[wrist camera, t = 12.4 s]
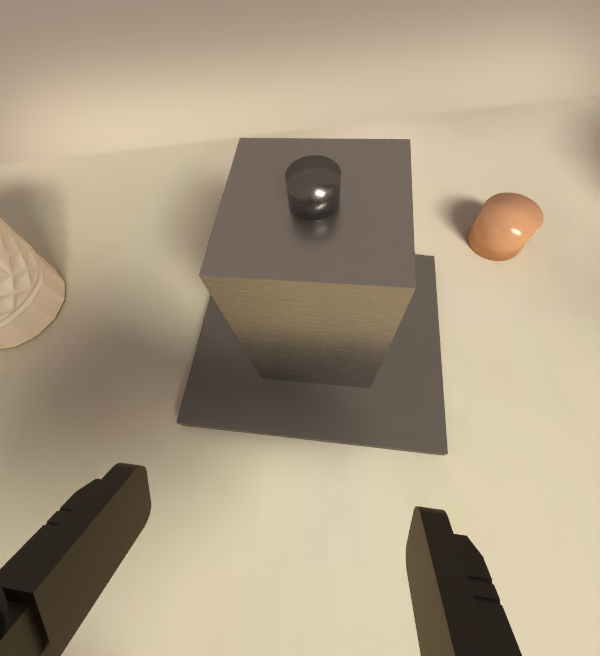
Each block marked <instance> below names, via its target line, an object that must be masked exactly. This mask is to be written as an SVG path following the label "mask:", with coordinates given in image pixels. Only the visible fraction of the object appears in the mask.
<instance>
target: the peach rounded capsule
mask: <svg viewBox="0 0 600 656" xmlns="http://www.w3.org/2000/svg"><path fill="white" fill-rule="evenodd" d="M542 222H543V213H542V210H541V208H540V207H539V206H538V205H537V204H536V203H535V202H534V201H533V200H531V199H529V198H528V197H525V196H523V195H520V194H516V193H500V194H496V195H494V196H492V197H490V198H489V199H488V200H487V201H486V202H485V204H484V206H483V208H482V209H481V211H480V213H479V215H478V216H477V218H476V220H475V222H474V224H473V225H472V227H471V229H470V231H469V233H468V243H469V245H470V247H471V248H472V249H473V250H474V251H475V252H476V253H477V254H478V255H480V256H482V257H484V258H486V259H489V260H494V261H504V260H508V259H511V258H513V257H514V256H516V255H517V254H518V253H519V252H520V250H521V249H522V248H523V247H524V245H525V244H526V243H527V242H528V241H529V239H530V238H531V237H532V236H533V235H534V233H535V232H536V231H537V230H538V229H539V227H540V226H541V225H542Z"/></svg>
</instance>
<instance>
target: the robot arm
mask: <svg viewBox="0 0 600 656" xmlns="http://www.w3.org/2000/svg"><path fill="white" fill-rule="evenodd" d="M150 510H151V499H150V492H149V485H148V478H147V471H146V468H145V467H144V466H139V465H132V464H125V463H118V464H116V465H115V466H113V467H112V468H111V470H110V471H109V472H108V473H107V474H106V475H105V476H104V477H103V478H102V479H95V480H93V481H92V482H90V483H89V484H87V485H86V486H84V487H83V488H81V489H79V490H78V491H76V492H75V493H74V494H73V495H72V496H71V497H70V499H69V500H68V501H67V502H66V503H65V504H64V505H63V506H62V507H61V508H60V511H57V512H56V513H55V514H54V515H53V516H52V517H51V518H50V519H49V520H48V521H47V524H46V525H43V526H42V527H41V528H40V529H39V530H38V531H37V532H36V533H35V534H34V535H33V536H32V537H31V538H30V539H29V540H28V541H27V542H26V544H25V545H24V546H23V547H22V548H21V549H20V550H19V551H18V552H17V553H16V554H15V555H14V556H13V557H12V558H11V559H10V560H9V561H8V562H7V563H6V564H5V565H4V566H3V567H2V568H1V569H0V656H61V654H62V653H63V651H64V650H65V648H66V647H67V645H68V643H69V642H70V640H71V639H72V637H73V636H74V634H75V633H76V631H77V630H78V628H79V627H80V625H81V623H82V622H83V620H84V619H85V617H86V616H87V614H88V613H89V611H90V610H91V608H92V607H93V605H94V603H95V602H96V600H97V599H98V597H99V596H100V594H101V593H102V591H103V590H104V588H105V587H106V585H107V583H108V582H109V580H110V579H111V577H112V576H113V574H114V573H115V571H116V570H117V568H118V567H119V565H120V563H121V562H122V560H123V559H124V557H125V556H126V554H127V553H128V551H129V550H130V548H131V547H132V545H133V543H134V542H135V540H136V539H137V537H138V536H139V534H140V533H141V531H142V530H143V528H144V526H145V525H146V523H147V520H148V518H149V515H150ZM406 568H407V575H408V581H409V587H410V593H411V599H412V605H413V611H414V617H415V623H416V629H417V635H418V641H419V647H420V653H421V656H522V654H521V652H520V649H519V647H518V644H517V642H516V639H515V637H514V634H513V632H512V629H511V627H510V624H509V621H508V619H507V616H506V614H505V611H504V609H503V606H502V605H501V604H500V599H499V596H498V594H497V591H496V589H495V586H494V585H493V584H492V579H491V576H490V574H489V571H488V568H487V566H486V563H485V561H484V558H483V556H482V555H481V554H480V552H479V551H478V550H477V548H476V547H475V546H474V545H473V543H472V542H471V541H470V539H469V538H468V537H467V536H465V535H458V534H453V531H452V528H451V525H450V522H449V519H448V516H447V514H446V512H445V511H444V510H439V509H432V508H425V507H418V506H416V507H415V508H414V512H413V516H412V521H411V526H410V530H409V535H408V540H407V545H406Z"/></svg>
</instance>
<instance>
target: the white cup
mask: <svg viewBox="0 0 600 656" xmlns="http://www.w3.org/2000/svg"><path fill="white" fill-rule="evenodd" d="M64 300H65V282H64V281H63V279H62V278H61V276H60V275H59V274H58V272H57V271H56V270H55V269H54V268H53V267H52V266H51V265H50V264H49V263H48V262H46V261H45V260H44V259H43V258H42V257H41V256H39V255H38V254H37V253H36V252H35V251H34V249H33V248H32V247H31V246H30V245H29V244H28V243H27V242H26V241H25V240H24V239H23V238H22V237H20V236H19V235H18V234H17V233H16V232H15V231H14V230H13V229H12V228H11V227H10V226H9V225H8V224H7V223H6V222H4V221H3V220H2V219H1V218H0V349H5V348H14V347H16V346H18V345H20V344H22V343H24V342H26V341H28V340H30V339H32V338H34V337H36V336H38V335H39V334H40V333H41V332H42V331H43V330H44V329H45V328H46V327H47V326H48V325H49V324H50V323H51V322H52V321H53V320H54V319H55V318H56V316H57V314H58V312H59V310H60V308H61V306H62V304H63V302H64Z"/></svg>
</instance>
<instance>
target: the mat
mask: <svg viewBox="0 0 600 656" xmlns="http://www.w3.org/2000/svg"><path fill="white" fill-rule="evenodd" d="M415 277H416V289H415V291H414V293H413V296H412V298H411V300H410V302H409V304H408V307H407V309H406V311H405V313H404V315H403V318H402V320H401V322H400V324H399V326H398V329H397V331H396V333H395V335H394V337H393V340H392V342H391V344H390V346H389V348H388V351H387V353H386V355H385V357H384V359H383V361H382V364H381V366H380V368H379V370H378V372H377V375H376V377H375V379H374V381H373V383H372V386H371V388H360V387H350V386H339V385H328V384H318V383H307V382H296V381H286V380H275V379H264V378H261V377H260V375H259V373H258V372H257V370H256V368H255V367H254V365H253V363H252V362H251V360H250V358H249V357H248V355H247V353H246V352H245V350H244V349H243V347H242V345H241V344H240V342H239V340H238V339H237V337H236V335H235V334H234V332H233V330H232V329H231V327H230V325H229V324H228V322H227V321H226V319H225V317H224V316H223V314H222V312H221V311H220V309H219V307H218V306H217V304H216V302H215V301H214V299H213V297H212V296H211V297H210V301H209V304H208V308H207V312H206V316H205V319H204V323H203V327H202V330H201V334H200V338H199V341H198V345H197V349H196V352H195V356H194V360H193V363H192V367H191V371H190V375H189V378H188V382H187V386H186V389H185V393H184V397H183V400H182V404H181V408H180V411H179V415H178V419H177V422H176V423H178V424H181V425H185V426H193V427H202V428H211V429H219V430H228V431H237V432H245V433H254V434H263V435H271V436H280V437H289V438H297V439H306V440H315V441H323V442H332V443H340V444H349V445H358V446H366V447H375V448H384V449H392V450H401V451H410V452H418V453H427V454H436V455H446V454H448V451H447V437H446V422H445V407H444V393H443V378H442V364H441V349H440V335H439V320H438V306H437V291H436V277H435V262H434V256H424V255H415Z"/></svg>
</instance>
